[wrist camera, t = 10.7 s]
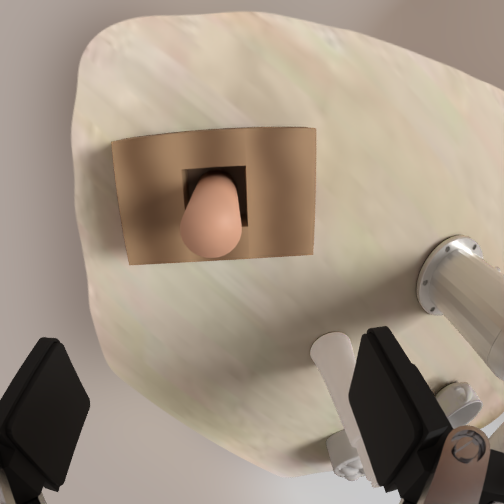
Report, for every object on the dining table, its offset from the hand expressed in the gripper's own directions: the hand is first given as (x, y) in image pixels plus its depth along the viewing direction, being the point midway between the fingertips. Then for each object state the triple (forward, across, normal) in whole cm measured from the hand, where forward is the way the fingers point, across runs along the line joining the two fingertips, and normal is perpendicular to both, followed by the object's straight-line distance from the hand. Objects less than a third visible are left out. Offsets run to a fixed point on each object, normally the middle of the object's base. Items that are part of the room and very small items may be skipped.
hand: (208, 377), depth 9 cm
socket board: (+26, +1, 0) cm, 26 cm away
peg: (+25, +1, 0) cm, 25 cm away
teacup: (+27, -42, +41) cm, 64 cm away
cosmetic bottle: (+26, -13, +23) cm, 37 cm away
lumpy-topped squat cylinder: (+27, -22, +50) cm, 61 cm away
